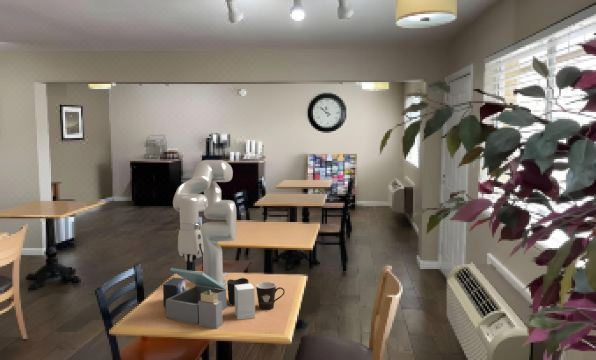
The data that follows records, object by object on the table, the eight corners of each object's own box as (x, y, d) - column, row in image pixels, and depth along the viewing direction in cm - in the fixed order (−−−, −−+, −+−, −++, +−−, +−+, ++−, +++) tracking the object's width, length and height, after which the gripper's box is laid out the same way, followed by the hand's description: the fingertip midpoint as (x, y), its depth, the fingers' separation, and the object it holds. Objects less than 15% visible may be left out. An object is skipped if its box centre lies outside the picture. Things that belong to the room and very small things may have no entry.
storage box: (196, 302, 222) (195, 281, 221) (243, 311, 211) (243, 289, 210) (166, 318, 204) (165, 295, 203) (216, 328, 193) (215, 304, 192)
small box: (176, 308, 215) (175, 285, 214) (162, 307, 217) (162, 284, 216) (186, 300, 226) (186, 277, 225) (173, 299, 227) (172, 277, 226)
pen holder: (234, 297, 228) (233, 276, 227) (252, 300, 225) (251, 278, 223) (223, 304, 219) (223, 283, 218) (242, 307, 216) (242, 285, 215)
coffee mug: (253, 309, 213) (252, 287, 212) (261, 303, 221) (261, 281, 220) (277, 313, 209) (277, 290, 208) (285, 306, 217) (285, 284, 216)
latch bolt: (205, 298, 199) (205, 288, 198) (217, 300, 196) (217, 290, 196) (200, 300, 196) (200, 290, 196) (213, 303, 193) (213, 292, 193)
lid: (195, 285, 221) (196, 282, 222) (226, 290, 214) (226, 287, 215) (170, 270, 205) (170, 267, 206) (202, 274, 198) (203, 272, 199)
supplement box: (255, 318, 204) (254, 288, 202) (237, 320, 202) (236, 290, 200) (252, 311, 211) (251, 282, 210) (234, 313, 209) (234, 284, 207)
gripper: (210, 226, 203) (211, 270, 204) (181, 223, 209) (182, 266, 211) (198, 229, 196) (199, 274, 198) (169, 226, 203) (170, 270, 204)
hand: (190, 270), depth 204 cm, fingers closed
